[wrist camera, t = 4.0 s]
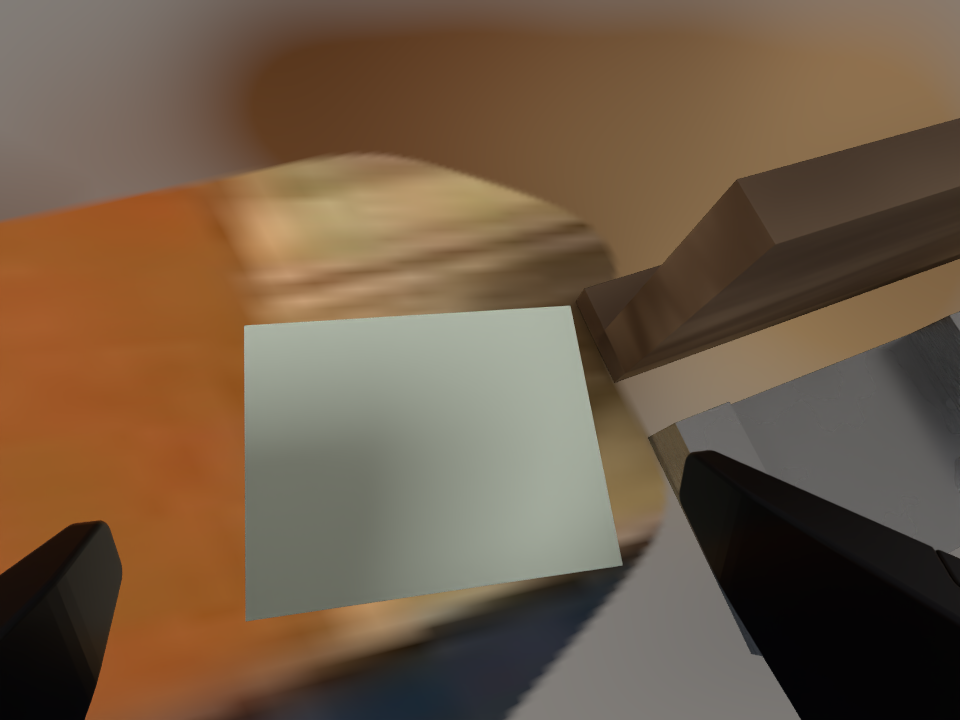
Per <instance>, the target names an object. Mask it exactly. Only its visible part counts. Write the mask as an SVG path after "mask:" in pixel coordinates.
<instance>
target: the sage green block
mask: <svg viewBox="0 0 960 720" xmlns="http://www.w3.org/2000/svg"><path fill="white" fill-rule="evenodd" d="M244 370H245V574H246V621H251V620H258V619H264V618H271V617H278V616H285V615H291V614H298V613H305V612H312V611H318V610H325V609H332V608H339V607H345V606H352V605H359V604H366V603H372V602H379V601H386V600H392V599H399V598H406V597H413V596H419V595H426V594H433V593H440V592H446V591H453V590H460V589H467V588H473V587H480V586H487V585H494V584H500V583H507V582H514V581H520V580H527V579H534V578H541V577H547V576H554V575H561V574H568V573H574V572H581V571H588V570H595V569H601V568H608V567H615V566H622V560H621V555H620V550H619V545H618V540H617V535H616V530H615V525H614V520H613V515H612V510H611V505H610V500H609V495H608V490H607V485H606V480H605V475H604V470H603V465H602V461H601V456H600V451H599V446H598V441H597V436H596V431H595V426H594V421H593V416H592V411H591V406H590V401H589V396H588V391H587V386H586V381H585V376H584V371H583V366H582V361H581V356H580V351H579V346H578V341H577V336H576V331H575V326H574V321H573V316H572V311H571V306H556V307H540V308H524V309H507V310H491V311H475V312H459V313H442V314H426V315H410V316H394V317H377V318H361V319H345V320H329V321H312V322H296V323H280V324H264V325H247V326H244Z"/></svg>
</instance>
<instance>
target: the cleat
mask: <svg viewBox="0 0 960 720" xmlns="http://www.w3.org/2000/svg"><path fill="white" fill-rule="evenodd" d="M648 439H649V441H650V443H651V445H652V447H653V449H654V451H655V453H656V455H657V458H658V460H659V462H660V464H661V466H662V468H663V470H664V472H665V474H666V476H667V478H668V481H669V483H670V485H671V487H672V489H673V491H674V493H675V495H676V497H677V499H678V501H679V504H680V506H681V508H682V505H681V502H680V497H679V490H680V485H681V480H682V474H683V469H684V464H685V460H686V457H687V456H688V454H690V453H691V452H696V451H705V450H714V451H716V452H719V453H721V454H723V455H725V456H728V457H730V458H732V459H734V460H737V461H739V462H741V463H743V464H746V465H748V466H750V467H753V468H755V469H757V470H759V471H762V472H764V473H766V474H768V475H771V476H773V477H775V478H778V479H780V480H782V481H784V482H787V483H789V484H791V485H793V486H796V487H798V488H800V489H803V490H805V491H807V492H809V493H812V494H814V495H816V496H818V497H821V498H823V499H825V500H827V501H830V502H832V503H834V504H837V505H839V506H841V507H843V508H846V509H848V510H850V511H852V512H855V513H857V514H859V515H862V516H864V517H866V518H868V519H871V520H873V521H875V522H877V523H880V524H882V525H884V526H887V527H889V528H891V529H893V530H896V531H898V532H900V533H902V534H905V535H907V536H909V537H912V538H914V539H916V540H918V541H921V542H923V543H925V544H928V545H930V546H932V547H933V548H934V549H935V550H941V551H944V552H946V553H949V552H951V551H953V550H955V549H957V548H959V547H960V311H959V312H957V313H955V314H952V315H949V316H947V317H945V318H943V319H941V320H939V321H937V322H935V323H932V324H930V325H928V326H926V327H924V328H922V329H920V330H917V331H915V332H913V333H911V334H909V335H907V336H904V337H901V338H898V339H896V340H893V341H891V342H888V343H886V344H883V345H881V346H878V347H876V348H873V349H870V350H868V351H865V352H863V353H860V354H858V355H855V356H853V357H850V358H848V359H845V360H843V361H840V362H837V363H835V364H833V365H830V366H827V367H825V368H822V369H820V370H817V371H815V372H812V373H809V374H807V375H804V376H802V377H799V378H797V379H794V380H792V381H789V382H787V383H784V384H782V385H779V386H776V387H774V388H772V389H769V390H766V391H764V392H761V393H759V394H756V395H754V396H751V397H748V398H746V399H744V400H741V401H739V402H736V403H733V404H730V402H727V403H725V404H722V405H720V406H717V407H714V408H712V409H709V410H707V411H704V412H702V413H699V414H697V415H694V416H692V417H689V418H686V419H684V420H681V421H679V422H676V423H674V424H672V425H671V426H669V427H667V428H665V429H663V430H661V431H659V432H657V433H656V434H654V435H652V436H650V437H648ZM682 509H683V508H682ZM683 512H684V510H683ZM684 514H685V512H684ZM685 516H686V514H685ZM686 518H687V516H686ZM687 520H688V518H687ZM688 522H689V521H688ZM689 524H690V523H689ZM690 527H691V525H690ZM691 529H692V527H691ZM692 531H693V529H692ZM693 533H694V531H693ZM694 535H695V533H694ZM695 537H696V535H695ZM696 539H697V537H696ZM697 541H698V539H697ZM698 543H699V542H698ZM699 545H700V544H699ZM700 547H701V546H700ZM701 550H702V548H701ZM702 552H703V550H702ZM703 554H704V552H703ZM704 556H705V554H704ZM705 558H706V556H705ZM706 560H707V558H706ZM707 562H708V561H707ZM708 564H709V563H708ZM709 566H710V565H709ZM710 568H711V567H710ZM711 570H712V569H711ZM712 573H713V571H712ZM713 575H714V573H713ZM714 577H715V575H714ZM715 579H716V577H715ZM716 581H717V579H716ZM717 583H718V581H717ZM718 585H719V587H720V589H721V591H722V593H723V596H724V598H725V600H726V602H727V604H728V606H729V608H730V610H731V612H732V614H733V616H734V619H735V621H736V623H737V625H738V627H739V629H740V631H741V633H742V635H743V637H744V639H745V642H746V644H747V646H748V648H749V650H750V652H751V654H755V655H759V656H762V654H761V653H760V651H759V649H758V648H757V646H756V644H755V643H754V641H753V639H752V638H751V636H750V634H749V633H748V631H747V630H746V628H745V626H744V625H743V623H742V621H741V620H740V618H739V616H738V615H737V613H736V611H735V610H734V608H733V607H732V605H731V603H730V602H729V600H728V598H727V597H726V595H725V593H724V591H723V590H722V588H721V586H720V584H719V583H718Z"/></svg>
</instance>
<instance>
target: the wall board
mask: <svg viewBox="0 0 960 720" xmlns="http://www.w3.org/2000/svg"><path fill="white" fill-rule="evenodd" d="M957 259H960V118H959V119H955V120H952V121H948V122H944V123H941V124H937V125H934V126H930V127H926V128H923V129H919V130H915V131H912V132H908V133H905V134H901V135H897V136H894V137H890V138H886V139H883V140H879V141H875V142H872V143H868V144H864V145H861V146H857V147H853V148H850V149H846V150H843V151H839V152H835V153H832V154H828V155H824V156H821V157H817V158H814V159H810V160H806V161H803V162H799V163H796V164H792V165H789V166H784V167H781V168H777V169H774V170H770V171H766V172H762V173H759V174H755V175H752V176H748V177H744V178H741V179H737V180H736V181H735V182H734V183H733V185H732V186H731V187H730V188H729V189H728V190H727V191H726V192H725V194H724V195H723V196H722V197H721V198H720V199H719V200H718V201H717V203H716V204H715V205H714V206H713V207H712V208H711V210H710V211H709V212H708V213H707V214H706V215H705V216H704V217H703V219H702V220H701V221H700V222H699V223H698V224H697V225H696V227H695V228H694V229H693V230H692V231H691V232H690V233H689V235H688V236H687V237H686V238H685V239H684V240H683V241H682V242H681V244H680V245H679V246H678V247H677V248H676V249H675V250H674V252H673V253H672V254H671V255H670V256H669V257H668V258H667V260H666V261H665V262H664V263H663V264H662V265H660V266H657V267H653V268H650V269H647V270H644V271H640V272H637V273H634V274H631V275H628V276H624V277H621V278H618V279H614V280H611V281H608V282H605V283H601V284H598V285H595V286H592V287H588V288H585V289H584V290H583V292H582V293H581V295H580V296H579V298H578V299H577V300H576V303H577V305H578V307H579V309H580V311H581V313H582V316H583V318H584V320H585V322H586V324H587V326H588V328H589V330H590V332H591V335H592V337H593V339H594V341H595V343H596V345H597V347H598V349H599V351H600V354H601V356H602V358H603V360H604V362H605V364H606V366H607V368H608V370H609V372H610V375H611V377H612V379H613V381H614V383H615V382H618V381H621V380H624V379H626V378H629V377H632V376H635V375H638V374H640V373H643V372H646V371H649V370H651V369H654V368H657V367H660V366H663V365H665V364H668V363H671V362H674V361H677V360H679V359H682V358H685V357H688V356H690V355H693V354H696V353H699V352H701V351H704V350H707V349H710V348H713V347H715V346H718V345H721V344H723V343H727V342H729V341H732V340H735V339H738V338H740V337H743V336H746V335H749V334H751V333H754V332H757V331H760V330H763V329H765V328H768V327H771V326H774V325H776V324H779V323H782V322H785V321H788V320H790V319H793V318H796V317H798V316H802V315H804V314H807V313H810V312H812V311H815V310H818V309H821V308H824V307H827V306H829V305H832V304H835V303H838V302H840V301H843V300H846V299H849V298H852V297H854V296H857V295H860V294H863V293H865V292H868V291H871V290H873V289H877V288H879V287H882V286H885V285H888V284H891V283H893V282H896V281H898V280H902V279H904V278H907V277H910V276H913V275H915V274H918V273H921V272H924V271H927V270H929V269H932V268H935V267H938V266H940V265H943V264H946V263H949V262H952V261H954V260H957Z"/></svg>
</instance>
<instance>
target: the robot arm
mask: <svg viewBox="0 0 960 720" xmlns="http://www.w3.org/2000/svg"><path fill="white" fill-rule="evenodd" d="M679 497H680V502H681V505H682V508H683V510H684V512H685V514H686V516H687V518H688V521H689V523H690V525H691V527H692V529H693V531H694V533H695V535H696V537H697V539H698V542H699V544H700V546H701V548H702V550H703V552H704V554H705V556H706V558H707V561H708V563H709V565H710V567H711V569H712V571H713V573H714V575H715V577H716V579H717V581H718V583H719V584H720V586H721V588H722V590H723V591H724V593H725V595H726V597H727V598H728V600H729V602H730V603H731V605H732V607H733V608H734V610H735V611H736V613H737V615H738V616H739V618H740V620H741V621H742V623H743V625H744V626H745V628H746V630H747V631H748V633H749V634H750V636H751V638H752V639H753V641H754V643H755V644H756V646H757V648H758V649H759V651H760V653H761V654H762V656H763V658H764V659H765V661H766V662H767V664H768V666H769V667H770V669H771V671H772V672H773V674H774V676H775V677H776V679H777V681H778V682H779V684H780V685H781V687H782V689H783V690H784V692H785V694H786V695H787V697H788V699H789V700H790V702H791V703H792V705H793V707H794V709H795V710H796V712H797V713H798V715H799V717H800V718H801V720H960V559H959V558H957V557H955V556H953V555H950V554H948V553H946V552H944V551H941V550H935V549H934V548H933V547H932V546H930V545H928V544H925V543H923V542H921V541H918V540H916V539H914V538H912V537H909V536H907V535H905V534H902V533H900V532H898V531H896V530H893V529H891V528H889V527H887V526H884V525H882V524H880V523H877V522H875V521H873V520H871V519H868V518H866V517H864V516H862V515H859V514H857V513H855V512H852V511H850V510H848V509H846V508H843V507H841V506H839V505H837V504H834V503H832V502H830V501H827V500H825V499H823V498H821V497H818V496H816V495H814V494H812V493H809V492H807V491H805V490H803V489H800V488H798V487H796V486H793V485H791V484H789V483H787V482H784V481H782V480H780V479H778V478H775V477H773V476H771V475H768V474H766V473H764V472H762V471H759V470H757V469H755V468H753V467H750V466H748V465H746V464H743V463H741V462H739V461H737V460H734V459H732V458H730V457H728V456H725V455H723V454H721V453H719V452H716V451H714V450H705V451H696V452H691V453H690V454H688V456H687V457H686V460H685V464H684V469H683V474H682V480H681V485H680V490H679ZM121 580H122V565H121V561H120V558H119V555H118V552H117V549H116V546H115V543H114V540H113V537H112V534H111V531H110V528H109V526H108V525H107V523H105V522H103V521H91V522H82V523H75V524H72V525H70V526H68V527H66V528H65V529H64V530H62V531H61V532H59V533H58V534H57V535H55V536H54V537H52V538H51V539H50V540H48V541H47V542H45V543H44V544H43V545H41V546H40V547H38V548H37V549H36V550H34V551H33V552H31V553H30V554H29V555H27V556H26V557H24V558H23V559H22V560H20V561H19V562H18V563H16V564H15V565H13V566H12V567H11V568H9V569H8V570H6V571H5V572H4V573H2V574H1V575H0V720H85V717H86V714H87V711H88V708H89V706H90V703H91V700H92V697H93V694H94V691H95V688H96V685H97V681H98V677H99V673H100V670H101V666H102V661H103V657H104V653H105V649H106V644H107V640H108V636H109V632H110V627H111V623H112V619H113V615H114V610H115V606H116V602H117V598H118V593H119V589H120V585H121Z"/></svg>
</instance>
